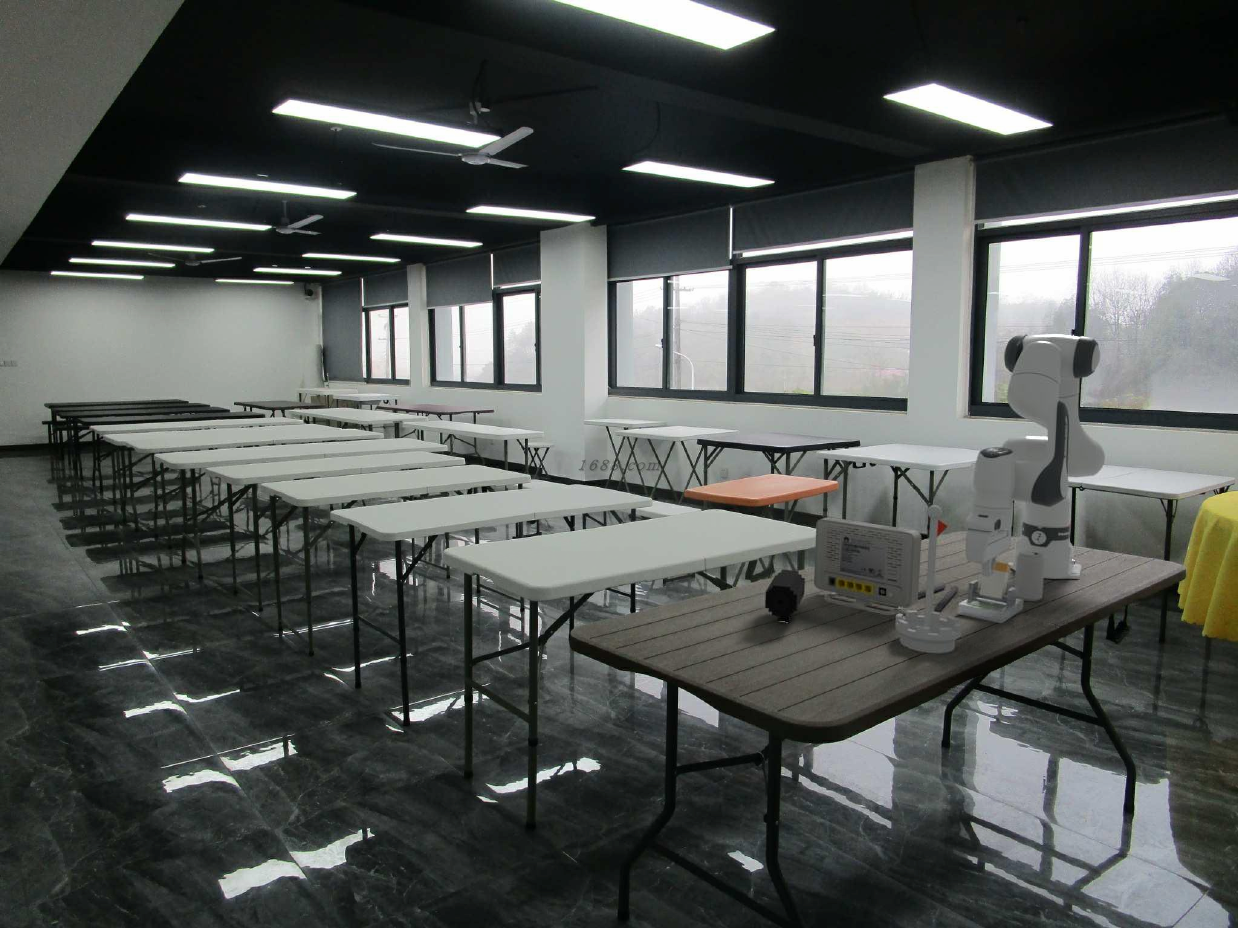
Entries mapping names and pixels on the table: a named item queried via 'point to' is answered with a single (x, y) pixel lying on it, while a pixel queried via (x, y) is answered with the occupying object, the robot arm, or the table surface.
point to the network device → (867, 563)
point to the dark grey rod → (946, 599)
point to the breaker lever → (995, 584)
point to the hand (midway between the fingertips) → (987, 575)
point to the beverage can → (1029, 575)
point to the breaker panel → (990, 605)
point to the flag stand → (929, 607)
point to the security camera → (785, 594)
